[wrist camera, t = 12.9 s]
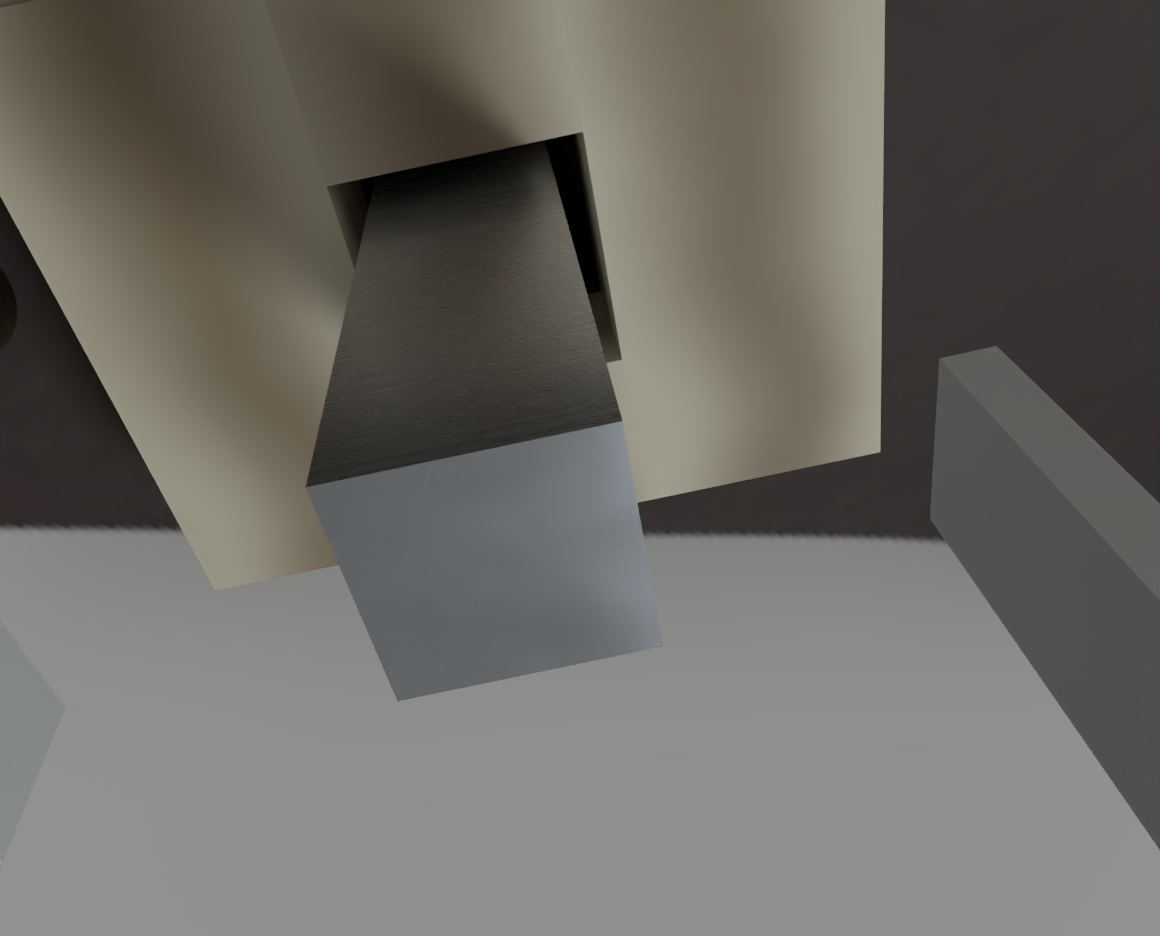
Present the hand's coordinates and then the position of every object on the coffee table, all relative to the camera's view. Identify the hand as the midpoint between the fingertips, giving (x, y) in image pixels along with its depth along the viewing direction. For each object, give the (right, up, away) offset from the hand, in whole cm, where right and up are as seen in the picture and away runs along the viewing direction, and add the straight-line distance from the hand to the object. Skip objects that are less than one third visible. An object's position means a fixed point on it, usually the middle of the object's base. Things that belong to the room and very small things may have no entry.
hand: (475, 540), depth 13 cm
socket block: (-1, +7, +11) cm, 14 cm away
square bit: (-1, +7, +11) cm, 14 cm away
